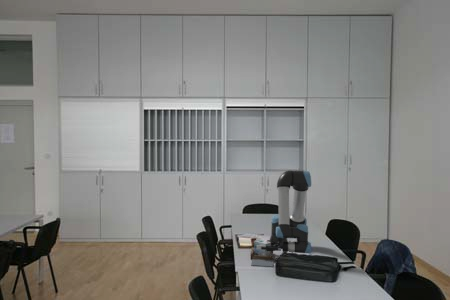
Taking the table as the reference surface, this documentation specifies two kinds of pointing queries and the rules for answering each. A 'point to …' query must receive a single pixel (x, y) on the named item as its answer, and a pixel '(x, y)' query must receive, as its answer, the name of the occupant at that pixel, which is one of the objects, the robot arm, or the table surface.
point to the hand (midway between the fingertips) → (256, 244)
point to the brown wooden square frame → (261, 256)
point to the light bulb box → (261, 252)
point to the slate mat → (262, 263)
